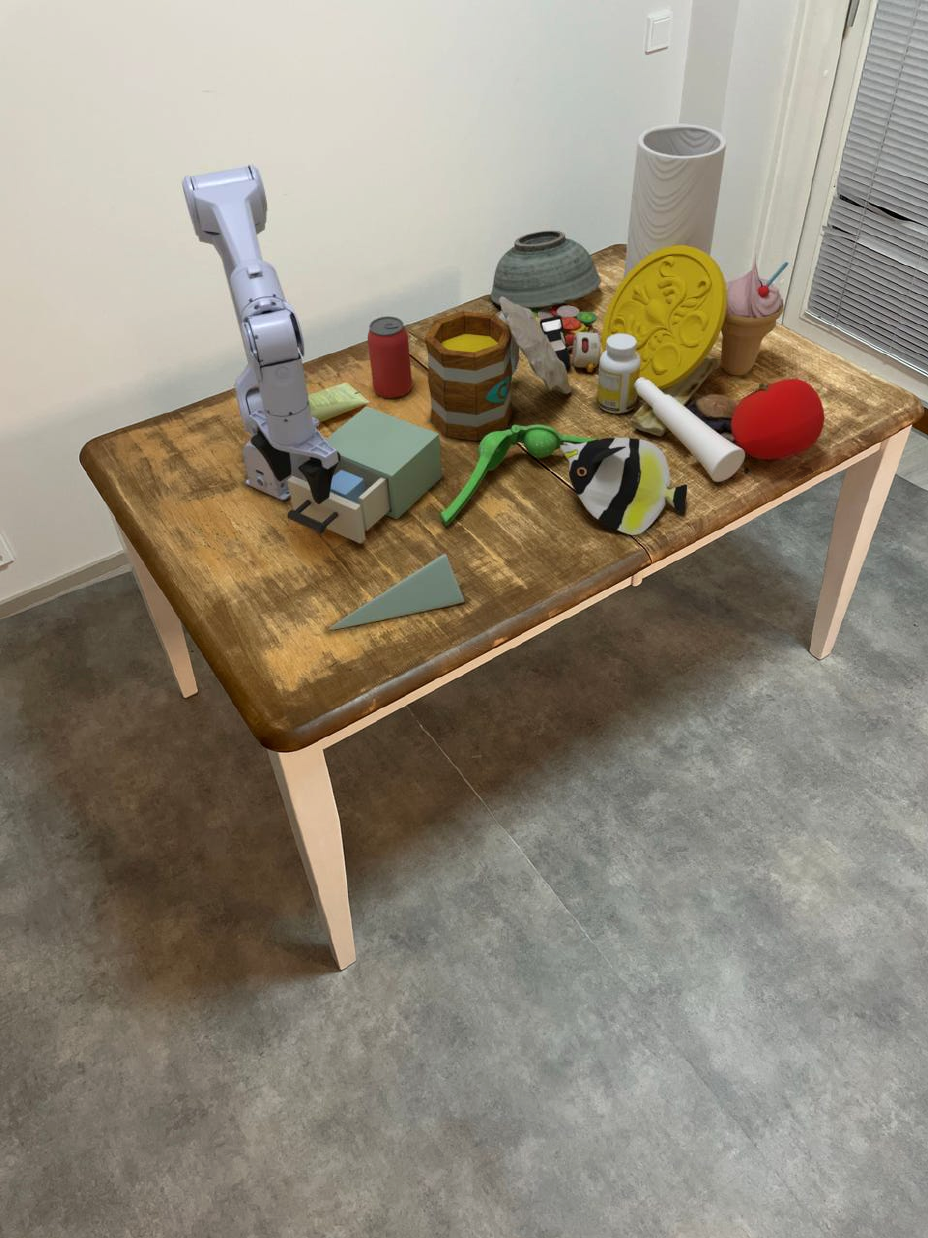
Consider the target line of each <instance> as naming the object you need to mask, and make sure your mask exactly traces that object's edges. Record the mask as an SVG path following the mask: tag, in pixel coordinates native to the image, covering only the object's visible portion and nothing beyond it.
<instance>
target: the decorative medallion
mask: <svg viewBox="0 0 928 1238" xmlns="http://www.w3.org/2000/svg"><path fill="white" fill-rule="evenodd" d="M726 283H727V282H726V280H725V276H724V274H723V272H722V269H721V267H720V265H718V263H717V261H716V260H715V259H714V258H713V257H712V256H711V255H710V256H709V255H708V254H706V253H704V252H703V251H701V250H699V249H697V248H694V247H691V246H686V245H676V246H670V247H666V248H663V249H661V250H658V251H656V252H654V253H652V254H651V255H649V256H647V257H646V258H644V259H643V260H642V261H640V262H639V263H638V264H637V265H636V266H635V267H634V268H633V269H632V270H631V271H630V272H629V273H628V274H627V275H626V277H625V278H624V277H623V279H622V280H621V282H620V283H619V285H618V286H617V288H616V290H615V291H614V293H613V295H612V297H611V299H610V302H609V304H608V306H607V309H606V313H605V316H604V319H603V325H602V330H601V331H602V332H601V347H602V348H601V349H602V353H603V352H605V351H606V342H607V339H608V338H609V337H610V336H611V335H614V334H620V333H621V334H628V335H631V336H633V337H634V338H635V339H636V341H637V345H636V352H637V353H638V354H639V356H640V359H641V365H640V375H639V378H641V377H644V378H645V379H646V380H650V381H651V382H652V383H653V384H654V385H655V386H656V387H657V388H659V389H660V390H662V389H665V388H668V387H670V386H673V385H675V384H677V383H678V382H680V381H681V380H683V379H685V378H686V377H687V376H688V375H690V374H691V373H692V372H693V371H694V370H695V369H696V368H697V367H698V366H699V365H700V364H701V363H702V362H703V360H704V359H705V358H706V359H707V357H708V355H709V354H710V352H711V351H712V349H713V348H714V346H715V344H716V342H717V341H718V338H719V335H720V333H721V332H722V331H721V328H722V325H723V322H724V318H725V313H726V306H727V289H726Z"/></svg>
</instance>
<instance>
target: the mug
mask: <svg viewBox="0 0 928 1238" xmlns="http://www.w3.org/2000/svg"><path fill="white" fill-rule="evenodd" d="M424 341H425V346H426V351H427V364H428V369H427V373H428V374H427V383H428V388H429V395H430V405H431V406H430V407H431V408H430V409H431V410H430V422H431V423H432V424H433V425H434V426H435V427H436V428H437V429H438V430H439V431H440V432H441V433H442V434H443V436H445V437H446V438H451V439H460V440H461V439H462V440H469V441H475V442H478V441H482V440H483V438H484V437H485V436H486V435H488V434H490V433H492V432H496V431H505V430H507V427H508V425H509V422H510V420H511V418H512V414H513V406H512V393H511V392H512V389H511V388H512V378H513V375H514V374H515V373H516V371H517V369H518V365H519V362H520V347H519V346H518V345H517V344H516V342H515V340H514V338H513V336H512V334H511V331H510V329H509V326H508V322H507V320H506V318H505V317H504V315H503V312H502V313H501V314H500V316H499V317H497V316H496V315H495V314H492V313H483V312H474V311H464V310H463V311H460V312H457V313H454V314H450V315H448V316H444V317H441V318H439V319H436V320H433V322H432V324H431V326H430V327H429V330H428V331H427V333H426V335H425V337H424Z"/></svg>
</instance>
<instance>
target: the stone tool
mask: <svg viewBox="0 0 928 1238" xmlns="http://www.w3.org/2000/svg"><path fill="white" fill-rule="evenodd" d="M499 303H500V305H499V306H500V309H501V311H502V312H503V315H504V317H505V318H506V320H507V322H508V326H509V329H510V331H511V334H512V336H513V338H514V340H515V342H516V344H517V345H518V346H519V350H520V351H521V353H522V354H523V355H524V357H525V358H526V360H527V362H528V363H529V364H528V365H529V366H530V369H531V370H532V372H533V373H534V374H535V375H536V376H537V377H539V378H540V379H541V380H542V381H543V383H544V385H545V388H547V390H550V391H551V390H552V389H553V388H554V387H555V389H557V390H558V391H559V392H560V393H562V394H565V395H568V394H569V393H572V391H573V389H572V387H571V385H570V382H569V376H568V370H566V368H565V365H564V363H563V362H562V361H561V360H559V358H558V357H557V355H556V353H555V351H554V349H553V347H552V346H551V344H550V342H549V339H548V338H547V336H546V335H544V333H543V331H542V329H541V327H540V325H539V323H538V322H537V320H536V318H535V317H534V313H533V312H532V311H531V308H523V307H521V306H520V305H517V304H514V303H512V302H511V301H509V300H508V299H506V298H505V297H500V299H499Z"/></svg>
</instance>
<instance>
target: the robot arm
mask: <svg viewBox="0 0 928 1238" xmlns="http://www.w3.org/2000/svg"><path fill="white" fill-rule="evenodd" d="M247 165H248V166H242V167H236V168H231V169H224V170H220V171H213V172H208V173H202V174H197V175H196V174H195V175H184V176H183V179H182V181H181V185H182V191H183V195H184V198H185V203H186V206H187V210H188V214H189V217H190V221H191V223H192V227H193V230H194V233H195V236H197V238H198V241H199V242H200V243H204V244H209V245H212V246H213V247H214V249H215V251H216V252H217V253H218V255H219V257H220V259H221V263H222V266H223V270H224V275H225V279H226V282H227V286H228V290H229V293H230V299H231V301H232V305H233V309H234V313H235V317H236V321H237V322H236V323H237V325H238V329H239V333H240V338H241V340H242V344H243V348H244V352H245V356H246V359H247V364H246V366H245V367H244V368H243V370H242V371H241V372H240V373H239V374H238V375H237V377H236V378H235V380H234V385H233V387H234V390H235V394H236V395H235V396H236V402H237V406H238V411H239V413H240V418H241V421H242V425H243V427H244V430H245V432H247V433H248V434H249V435H251V437H250V439H249V440H248V442H247V443H246V444H245V445H243V448H242V451H241V453H242V460H243V462H244V468H245V471H246V475H247V479H246V480H245V484H246V485H247V486H248V487H249V486H250V487H251V488H254V489H256V490H258V491H260V492H262V493H265V494H267V495H269V496H271V497H273V498H276V499H278V500H281V501H286V500H288V499H289V498H291V496H290V491H289V487H288V482H287V480H288V479H289V478H290V477H292V476H294V477H296V478H299V479H301V480H303V481H304V478H303V475H304V477H305V478H306V480H307V482H308V484H309V486H310V490H311V493H312V496H313V499H314V501H315V502H316V503H317V504H321V503H322V502H323V501H325V500H326V499H328V498H329V497H330V489H331V482H332V478H333V474H334V472H335V469H336V467H337V465H338V463H339V461H340V459H341V457H340V453H339V452H337V450H336V449H334V448H333V447H331V446H330V445H329V444H328V442H327V441H326V440H325V439H326V438H325V437H324V436H323V435H322V433H321V432H320V431H319V430H318V427H319V426H320V423H319V421H318V420H317V419H316V418H314V417H312V415H311V408H310V403H309V398H308V395H309V393H308V387H307V383H306V377H305V370H304V364H303V360H302V357H305V341H304V335H303V332H302V328H301V323H300V322H299V318H298V316H297V314H296V312H295V310H294V308H293V306H292V305H291V303H290V301H289V300H287V299H286V297H285V294H284V291H283V288H282V285H281V282H280V279H279V276H278V272H277V270H276V269H275V267H274V265H272V264H271V263H269V262H268V261H265V260H263V256H262V252H261V247H260V243H259V239H258V235H259V234H261V233H262V232H263V231H265V230H266V223H267V214H268V213H267V212H268V201H267V196H266V192H265V191H266V190H265V187H264V182H263V179H262V176H261V173H260V170H259V169H258V168H257V167H256V166H255V165H254V164H247ZM252 434H253V435H252Z"/></svg>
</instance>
